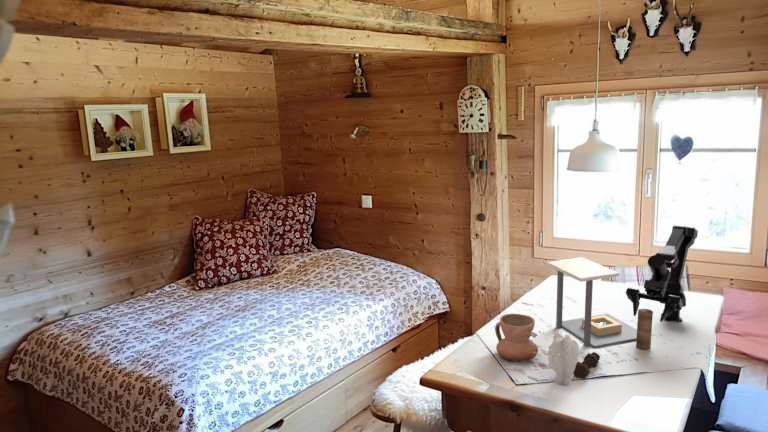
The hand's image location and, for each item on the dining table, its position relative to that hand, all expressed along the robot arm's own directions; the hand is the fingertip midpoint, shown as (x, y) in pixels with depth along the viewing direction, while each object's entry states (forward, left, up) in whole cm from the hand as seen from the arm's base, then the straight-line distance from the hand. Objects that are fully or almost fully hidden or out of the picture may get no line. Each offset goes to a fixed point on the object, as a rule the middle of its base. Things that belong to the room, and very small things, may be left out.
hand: (647, 318), depth 210 cm
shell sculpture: (+31, -33, -10) cm, 47 cm away
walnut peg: (+2, -1, -10) cm, 11 cm away
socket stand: (-10, -16, -10) cm, 22 cm away
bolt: (+21, -24, -11) cm, 34 cm away
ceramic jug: (+13, -47, -10) cm, 50 cm away
